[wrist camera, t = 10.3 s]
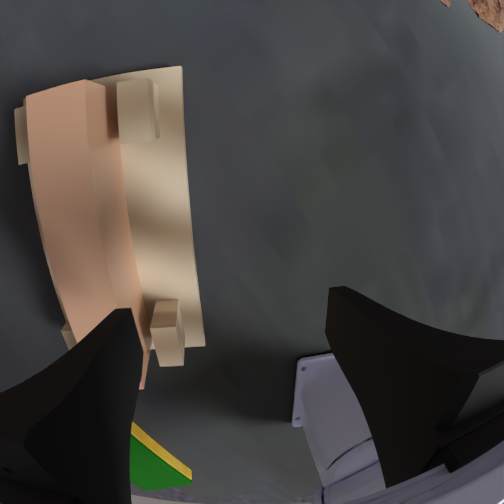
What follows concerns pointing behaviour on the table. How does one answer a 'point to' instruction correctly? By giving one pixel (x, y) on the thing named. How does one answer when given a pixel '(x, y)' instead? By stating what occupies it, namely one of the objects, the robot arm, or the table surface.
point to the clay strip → (85, 205)
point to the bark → (487, 11)
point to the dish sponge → (154, 464)
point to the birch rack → (151, 205)
